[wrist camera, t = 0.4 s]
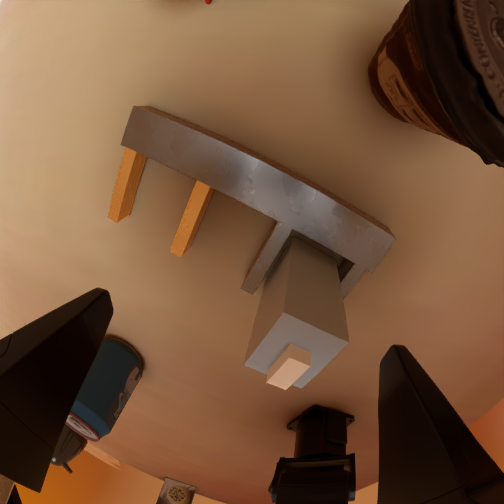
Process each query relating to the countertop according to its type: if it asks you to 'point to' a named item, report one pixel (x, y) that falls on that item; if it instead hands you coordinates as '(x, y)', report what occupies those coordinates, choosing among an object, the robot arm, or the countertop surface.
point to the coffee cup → (446, 72)
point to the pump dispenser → (68, 447)
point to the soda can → (105, 389)
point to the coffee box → (176, 493)
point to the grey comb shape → (246, 194)
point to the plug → (298, 318)
